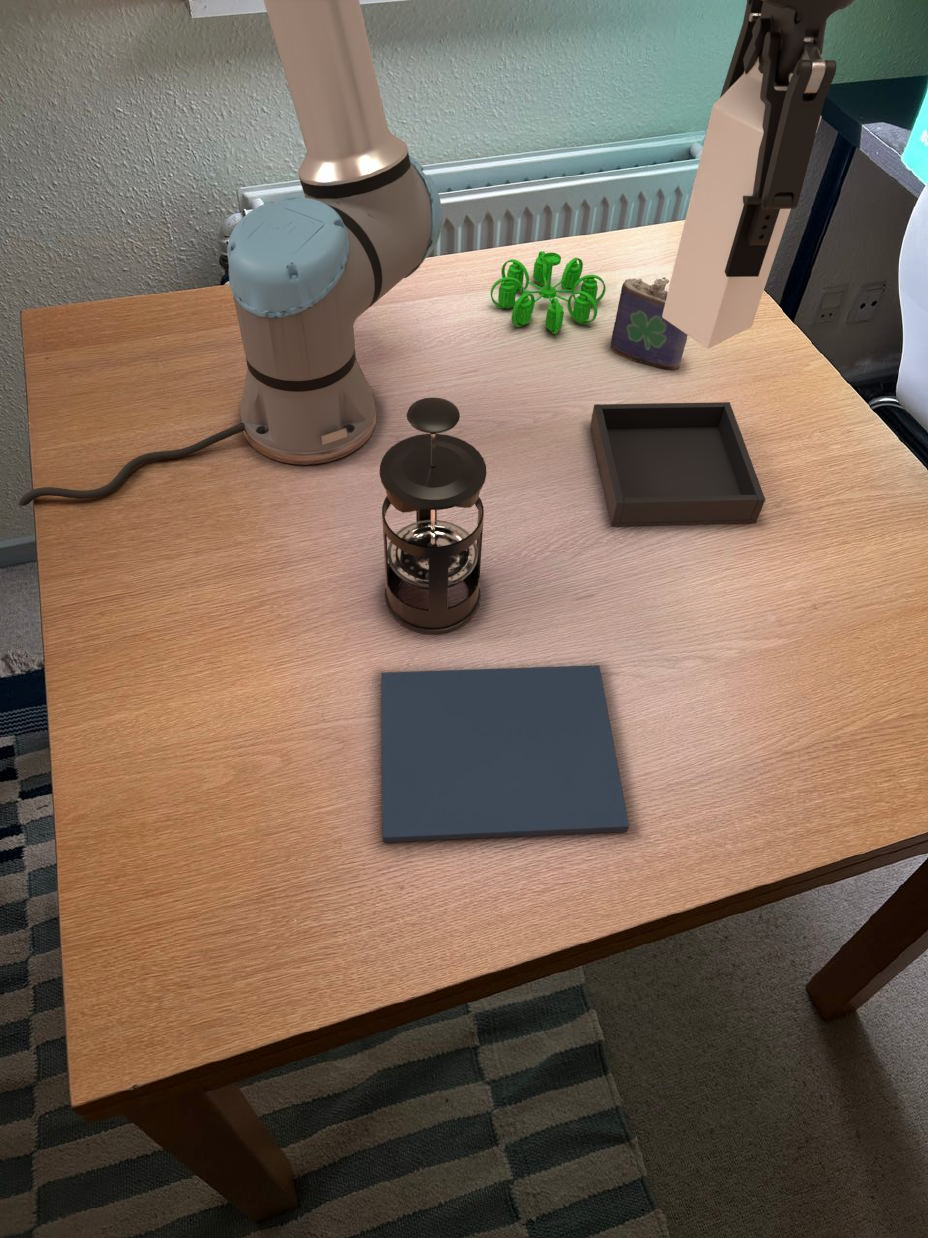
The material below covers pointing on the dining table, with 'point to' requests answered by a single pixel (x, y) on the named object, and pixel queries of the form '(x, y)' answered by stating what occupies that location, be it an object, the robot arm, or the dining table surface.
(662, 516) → the tray
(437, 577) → the french press
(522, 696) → the mat
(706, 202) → the milk
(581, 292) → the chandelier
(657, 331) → the flask
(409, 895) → the dining table surface
